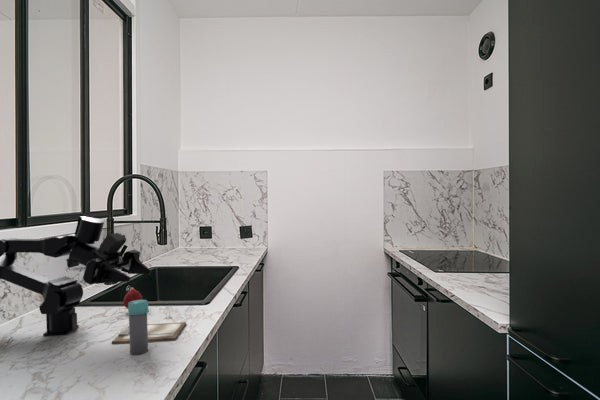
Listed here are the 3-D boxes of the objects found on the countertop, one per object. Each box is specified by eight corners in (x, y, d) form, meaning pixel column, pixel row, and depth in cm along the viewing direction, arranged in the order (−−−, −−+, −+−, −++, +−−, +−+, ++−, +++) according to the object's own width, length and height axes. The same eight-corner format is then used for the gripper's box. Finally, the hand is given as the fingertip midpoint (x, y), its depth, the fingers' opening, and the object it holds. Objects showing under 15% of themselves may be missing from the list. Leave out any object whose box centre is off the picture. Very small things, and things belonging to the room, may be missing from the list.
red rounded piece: (146, 309, 121) (145, 286, 121) (132, 315, 115) (131, 290, 115) (134, 308, 123) (133, 285, 123) (119, 313, 118) (119, 289, 118)
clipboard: (111, 343, 92) (111, 339, 92) (130, 327, 104) (129, 323, 104) (175, 340, 93) (175, 335, 93) (186, 324, 105) (186, 320, 105)
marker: (126, 355, 84) (125, 305, 84) (133, 348, 88) (132, 300, 88) (146, 354, 85) (144, 304, 85) (152, 347, 89) (150, 299, 89)
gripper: (73, 233, 91) (126, 253, 88) (121, 227, 109) (166, 243, 107) (62, 274, 91) (114, 295, 89) (112, 261, 110) (156, 278, 107)
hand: (140, 275), depth 98 cm, fingers open, 9 cm apart
